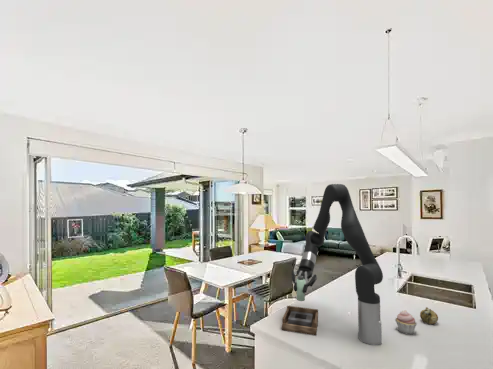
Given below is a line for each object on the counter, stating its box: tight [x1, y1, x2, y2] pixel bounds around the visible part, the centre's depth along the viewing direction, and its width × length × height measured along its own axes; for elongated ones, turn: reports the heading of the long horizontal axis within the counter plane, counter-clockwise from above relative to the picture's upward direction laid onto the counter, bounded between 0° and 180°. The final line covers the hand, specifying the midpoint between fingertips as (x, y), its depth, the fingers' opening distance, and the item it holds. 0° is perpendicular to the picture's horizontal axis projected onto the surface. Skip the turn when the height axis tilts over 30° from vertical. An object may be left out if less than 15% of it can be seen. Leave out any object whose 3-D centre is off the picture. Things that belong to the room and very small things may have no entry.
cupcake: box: [394, 309, 418, 335], centre depth 131 cm, size 9×9×10 cm
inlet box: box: [281, 305, 319, 336], centre depth 135 cm, size 16×16×6 cm
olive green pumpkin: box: [419, 307, 439, 325], centre depth 141 cm, size 8×8×8 cm
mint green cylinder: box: [296, 275, 306, 302], centre depth 136 cm, size 4×4×12 cm
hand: (299, 291), depth 134 cm, fingers closed on mint green cylinder, 4 cm apart
